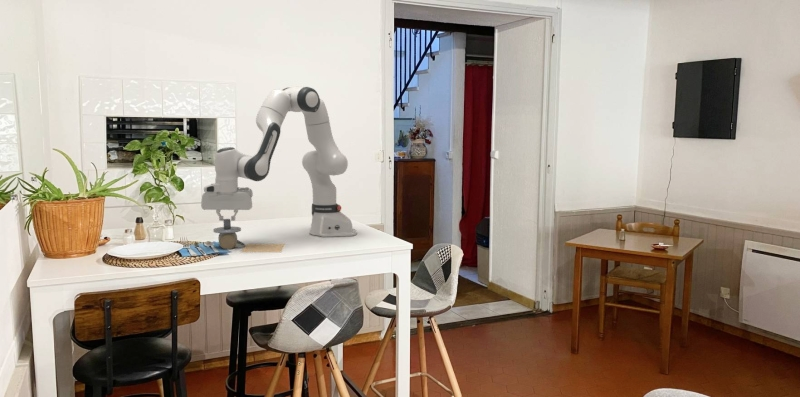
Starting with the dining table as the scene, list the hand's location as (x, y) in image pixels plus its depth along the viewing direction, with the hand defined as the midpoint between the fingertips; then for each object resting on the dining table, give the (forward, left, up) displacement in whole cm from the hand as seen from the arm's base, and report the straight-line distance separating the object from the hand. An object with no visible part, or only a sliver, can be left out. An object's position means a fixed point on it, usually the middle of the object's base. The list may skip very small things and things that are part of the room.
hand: (227, 220), depth 254 cm
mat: (-15, +2, -12) cm, 19 cm away
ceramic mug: (-1, 0, -12) cm, 12 cm away
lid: (0, 0, -4) cm, 4 cm away
